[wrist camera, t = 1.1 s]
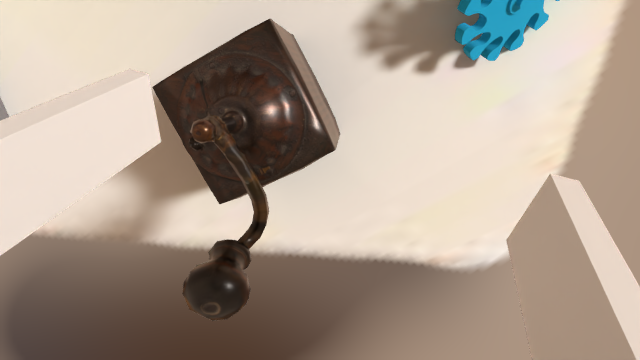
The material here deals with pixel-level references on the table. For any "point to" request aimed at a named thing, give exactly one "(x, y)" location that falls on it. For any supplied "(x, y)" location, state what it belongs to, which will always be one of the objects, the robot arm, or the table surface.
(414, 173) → the table surface
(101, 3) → the table surface
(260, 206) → the manual coffee grinder
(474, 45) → the blue toy animal
